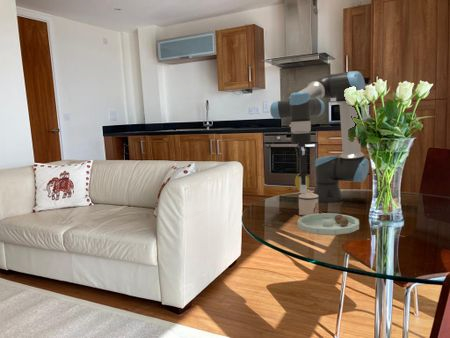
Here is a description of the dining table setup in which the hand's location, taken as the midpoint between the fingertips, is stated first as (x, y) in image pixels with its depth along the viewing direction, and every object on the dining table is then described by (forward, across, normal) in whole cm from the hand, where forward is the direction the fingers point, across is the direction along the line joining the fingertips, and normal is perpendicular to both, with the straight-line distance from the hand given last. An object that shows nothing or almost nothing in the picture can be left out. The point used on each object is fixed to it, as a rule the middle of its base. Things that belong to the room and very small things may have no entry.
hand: (302, 191), depth 144 cm
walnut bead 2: (+14, +3, +15) cm, 21 cm away
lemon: (+1, 0, 0) cm, 1 cm away
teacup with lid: (+15, -20, +5) cm, 26 cm away
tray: (+15, +2, +9) cm, 18 cm away
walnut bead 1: (+14, -2, +14) cm, 20 cm away
